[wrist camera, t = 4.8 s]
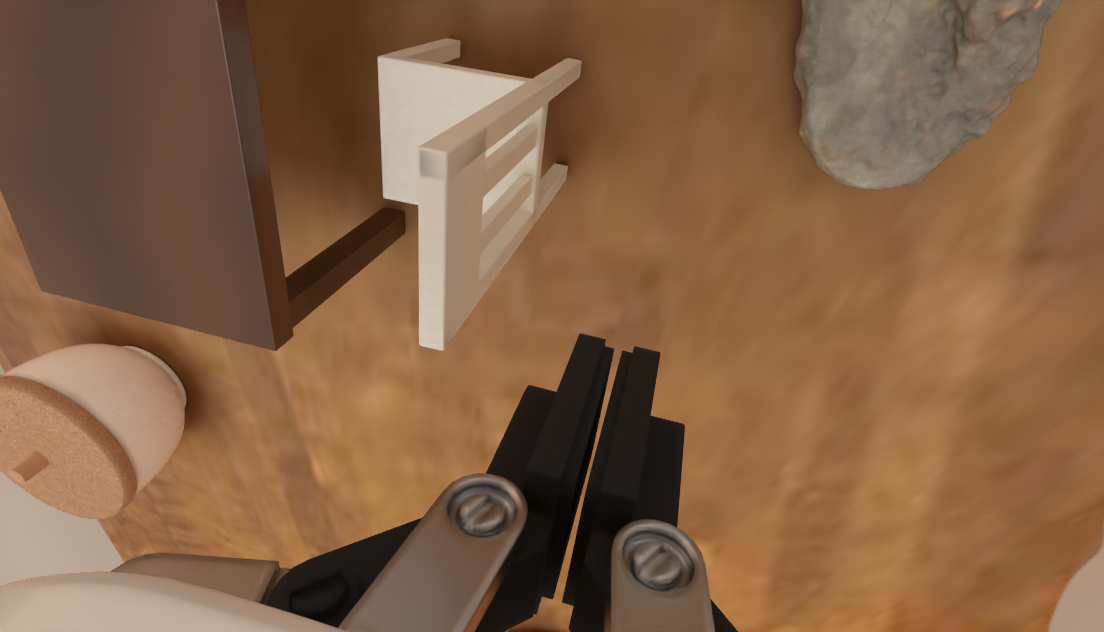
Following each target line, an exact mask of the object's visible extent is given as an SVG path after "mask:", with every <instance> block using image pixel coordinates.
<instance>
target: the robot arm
mask: <svg viewBox="0 0 1104 632" xmlns="http://www.w3.org/2000/svg"><path fill="white" fill-rule="evenodd" d="M605 341H606V339H602V338H597V337H593V336H589V335H585V334H579V336H578V339H577V342H576V344H575V347H574V349H573V352H572V354H571V357H570V359H569V362H568V364H567V367H566V369H565V372H564V375H563V377H562V380H561V382H560V385H559V387H558V390H557V392H554V391H550V390H546V389H543V388H539V387H535V386H531V385H529V386H528V387H527V388H526V390H525V392H524V394H523V396H522V398H521V400H520V402H519V405H518V407H517V409H516V411H515V413H514V415H513V417H512V419H511V421H510V424H509V426H508V428H507V430H506V432H505V434H504V436H503V438H502V441H501V443H500V445H499V447H498V449H497V451H496V453H495V455H494V458H493V460H492V462H491V464H490V466H489V468H488V470H487V472H486V474H478V473H477V474H472V475H468V476H464V477H462V478H460V479H458V480H456V481H454V482H452V483H451V484H450V485H449V486H448V487H447V488H446V489H445V490H444V491H443V492H442V493H441V495H440V496H439V497H438V499H437V500H436V501H435V502H434V504H433V505H432V506H431V508H430V509H429V510H428V512H427V513H426V514H425V515H424V517H423V518H420V519H418V520H415V521H412V522H409V523H407V524H404V525H401V526H399V527H396V528H393V529H390V530H388V531H385V532H382V533H380V534H377V535H374V536H371V537H369V538H366V539H363V540H361V541H358V542H355V543H352V544H350V545H347V546H344V547H342V548H339V549H336V550H333V551H331V552H328V553H325V554H323V555H320V556H317V557H314V558H312V559H309V560H307V561H305V562H303V563H301V564H299V565H297V566H295V567H293V568H292V569H287V568H280V567H279V562H278V561H268V560H254V559H240V558H227V557H213V556H200V555H186V554H173V553H155V554H145V555H142V556H139V557H137V558H134V559H131V560H128V561H126V562H125V563H123V564H122V565H120V566H118V567H117V568H115V569H114V570H112V571H111V572H80V573H68V574H56V575H48V576H42V577H36V578H30V579H26V580H22V581H17V582H13V583H9V584H6V585H3V586H0V632H510V630H511V628H512V627H514V626H516V625H518V624H520V623H522V622H524V621H526V620H528V619H530V618H532V617H533V614H536V615H537V611H538V608H539V604H540V601H541V597H542V596H543V597H546V598H549V599H552V600H553V597H554V593H555V590H556V586H557V582H558V579H559V575H560V571H561V567H562V564H563V560H564V556H565V553H566V549H567V545H568V541H569V538H570V534H571V530H572V526H573V523H574V519H575V515H576V512H577V508H578V504H579V500H580V497H581V493H582V489H583V485H584V482H585V478H586V474H587V471H588V467H589V463H590V459H591V455H592V451H593V447H594V442H595V438H596V433H597V428H598V423H599V419H600V414H601V409H602V404H603V400H604V395H605V390H606V386H607V381H608V376H609V371H610V367H611V362H612V357H613V352H614V348H609V347H605ZM659 358H660V352H657V351H653V350H648V349H644V348H640V347H636V346H634V350H633V353H630V352H626V351H622V354H621V358H620V361H619V365H618V369H617V373H616V377H615V381H614V384H613V388H612V392H611V396H610V400H609V403H608V407H607V411H606V415H605V419H604V423H603V426H602V430H601V434H600V438H599V442H598V446H597V449H596V453H595V457H594V461H593V465H592V468H591V472H590V476H589V480H588V484H587V489H586V493H585V497H584V502H583V507H582V511H581V516H580V521H579V525H578V530H577V535H576V539H575V544H574V549H573V553H572V558H571V563H570V567H569V572H568V577H567V581H566V586H565V591H564V595H563V600H562V603H566V604H569V605H572V606H574V608H573V612H572V616H571V620H570V625H569V630H570V632H738V631H737V630H736V629H735V628H734V626H733V625H732V624H731V623H730V622H729V620H728V619H727V618H726V617H725V616H724V614H723V613H722V612H721V611H720V610H719V608H718V607H717V606H716V605H715V604H714V602H713V601H712V600H711V599H710V594H709V587H708V580H707V574H706V567H705V563H704V560H703V557H702V553H701V551H700V550H699V548H698V547H697V545H696V544H695V542H694V541H693V540H692V539H691V538H690V537H689V536H688V535H687V534H685V533H684V532H683V531H682V530H680V529H678V528H677V522H678V509H679V497H680V484H681V471H682V458H683V445H684V432H685V426H684V424H681V423H677V422H673V421H669V420H666V419H662V418H658V417H654V416H650V415H651V409H652V402H653V396H654V390H655V384H656V377H657V371H658V365H659Z"/></svg>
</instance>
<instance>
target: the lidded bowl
mask: <svg viewBox="0 0 1104 632" xmlns="http://www.w3.org/2000/svg"><path fill="white" fill-rule="evenodd" d="M186 403H187V397H186V392H185V389H184V387H183V385H182V383H181V381H180V379H179V378H178V376H177V375H176V374H175V373H174V371H173V370H172V369H171V368H170V367H169V366H168V365H167V364H166V363H165V362H163V361H162V360H161V359H159V358H158V357H157V356H155V355H153V354H152V353H150V352H148V351H146V350H144V349H141V348H138V347H134V346H115V345H109V344H80V345H74V346H68V347H63V348H60V349H57V350H54V351H51V352H48V353H45V354H43V355H40V356H38V357H35V358H33V359H31V360H28V361H26V362H24V363H22V364H20V365H18V366H16V367H14V368H12V369H10V370H8V371H7V372H5V373H3V374H2V375H0V470H1V471H2V472H3V473H4V474H5V475H6V476H7V477H8V478H10V479H11V480H12V481H13V482H14V483H15V484H17V485H18V486H20V487H21V488H22V489H24V490H25V491H26V492H28V493H30V494H31V495H32V496H34V497H35V498H37V499H39V500H41V501H43V502H44V503H46V504H48V505H50V506H52V507H54V508H56V509H58V510H60V511H63V512H66V513H69V514H72V515H75V516H78V517H82V518H89V519H104V518H109V517H112V516H115V515H117V514H118V513H119V512H121V511H122V510H123V509H124V508H125V507H126V506H127V505H128V504H129V503H130V502H131V501H132V500H133V499H134V497H135V495H136V494H138V493H139V492H140V491H141V490H142V489H143V488H144V487H145V486H146V485H147V484H148V483H149V482H150V481H151V480H152V479H154V478H155V477H156V475H157V474H158V473H159V472H160V471H161V470H162V468H163V467H164V466H165V465H166V464H167V462H168V461H169V459H170V458H171V456H172V455H173V453H174V452H175V450H176V448H177V446H178V444H179V442H180V440H181V437H182V433H183V429H184V425H185V409H184V408H185V407H186Z"/></svg>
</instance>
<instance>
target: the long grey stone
mask: <svg viewBox="0 0 1104 632" xmlns="http://www.w3.org/2000/svg"><path fill="white" fill-rule="evenodd" d="M1061 2H1062V0H802V10H803V11H802V16H803V19H802V26H801V33H800V36H799V39H798V40H797V44H796V49H795V56H796V65H795V68H794V80H795V82H796V84H797V86H798V88H799V92H800V95H801V98H802V109H801V114H802V118H801V122H800V128H799V134H800V136H801V138H802V140H803V142H804V144H805V146H806V148H807V149H808V150H809V151H810V152H811V153H812V155H813V158H814V163H815V164H816V166H817V167H818V168H820V169H821V170H822V171H823V172H824V173H826V174H827V175H829V176H830V177H832V178H833V179H835V180H836V181H838V182H839V183H841V184H842V185H847V186H851V187H855V188H858V189H868V190H873V189H876V190H879V191H881V190H882V189H887V188H898V187H900V186H910V185H914V184H916V183H918V182H920V181H922V180H924V178H925V177H926V175H927V174H928V173H929V172H931V171H932V170H934V169H935V168H936V167H937V166H939V164H940V163H941V162H942V161H944V160H945V159H946V158H947V157H949V156H950V155H951V154H954V153H955V152H957V151H958V150H959V149H960V148H961V147H962V146H963V145H964V144H965V143H967V142H969V141H973V140H977V139H980V138H981V137H982V136H983V135H985V134H986V133H987V132H988V130H989V128H990V126H991V124H992V121H993V120H994V118H995V117H996V116H998V115H999V114H1001V113H1002V112H1003V111H1004V109H1005V108H1006V107H1007V106H1008V105H1009V104H1010V102H1011V101H1012V95H1013V92H1014V89H1015V88H1016V86H1017V85H1019V84H1021V83H1025V82H1027V81H1028V80H1029V79H1031V77H1032V75H1033V73H1034V71H1035V69H1036V67H1037V65H1038V63H1039V49H1040V46H1041V42H1042V33H1043V29H1044V26H1045V24H1046V22H1047V20H1048V19H1049V18H1050V17H1051V16H1052V15H1053V14H1054V13H1056V11H1057V9H1058V7H1059V5H1060V4H1061Z"/></svg>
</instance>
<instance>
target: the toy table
mask: <svg viewBox="0 0 1104 632" xmlns="http://www.w3.org/2000/svg"><path fill="white" fill-rule="evenodd" d="M0 189H1V192H2V194H3V197H4V199H5V202H6V204H7V207H8V209H9V212H10V214H11V217H12V219H13V222H14V224H15V227H16V229H17V232H18V234H19V237H20V239H21V241H22V244H23V246H24V249H25V251H26V254H27V256H28V259H29V261H30V264H31V266H32V269H33V271H34V274H35V276H36V279H37V281H38V284H39V286H40V288H41V290H42V291H44V292H47V293H51V294H55V295H59V296H63V297H67V298H71V299H75V300H79V301H82V302H86V303H90V304H94V305H98V306H102V307H106V308H110V309H114V310H118V311H121V312H125V313H129V314H133V315H137V316H141V317H145V318H149V319H153V320H156V321H160V322H164V323H168V324H172V325H176V326H180V327H184V328H188V329H191V330H195V331H199V332H203V333H207V334H211V335H215V336H219V337H223V338H227V339H230V340H234V341H238V342H242V343H246V344H250V345H254V346H258V347H262V348H265V349H269V350H273V351H277V350H278V349H279V348H280V347H281V346H283V345H284V344H285V343H286V342H287V341H288V340H289V339H291V338H292V337H293V335H294V334H293V327H295V326H296V325H297V324H298V323H299V322H301V321H302V320H303V319H304V318H305V317H306V316H308V315H309V314H310V313H311V312H312V311H314V310H315V309H316V308H317V307H318V306H319V305H321V304H322V303H323V302H324V301H325V300H327V299H328V298H329V297H330V296H331V295H332V294H334V293H335V292H336V291H337V290H338V289H340V288H341V287H342V286H343V285H344V284H345V283H347V282H348V281H349V280H350V279H351V278H353V277H354V276H355V275H356V274H357V273H358V272H360V271H361V270H362V269H363V268H364V267H366V266H367V265H368V264H369V263H370V262H371V261H373V260H374V259H375V258H376V257H377V256H378V255H380V254H381V253H382V252H383V251H384V250H386V249H387V248H388V247H389V246H390V245H391V244H393V243H394V242H395V241H396V240H397V239H399V238H400V237H401V236H402V235H403V234H404V233H405V222H404V212H400V211H395V210H391V209H386V208H382V209H381V210H380V211H378V212H377V213H375V214H374V215H373V216H371V217H370V218H368V219H367V220H366V221H364V222H363V223H361V224H360V225H359V226H357V227H356V228H355V229H353V230H352V231H350V232H349V233H348V234H346V235H345V236H343V237H342V238H341V239H339V240H338V241H336V242H335V243H334V244H332V245H331V246H329V247H328V248H327V249H325V250H324V251H322V252H321V253H320V254H318V255H317V256H315V257H314V258H313V259H311V260H310V261H308V262H307V263H306V264H304V265H303V266H301V267H300V268H299V269H297V270H296V271H295V272H293V273H292V274H290V275H289V276H288V277H286V278H285V272H284V266H283V259H282V252H281V245H280V238H279V231H278V224H277V217H276V211H275V204H274V197H273V190H272V183H271V176H270V169H269V163H268V156H267V149H266V142H265V135H264V128H263V121H262V115H261V108H260V101H259V94H258V87H257V80H256V73H255V67H254V60H253V53H252V46H251V39H250V32H249V25H248V19H247V12H246V5H245V0H0Z"/></svg>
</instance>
